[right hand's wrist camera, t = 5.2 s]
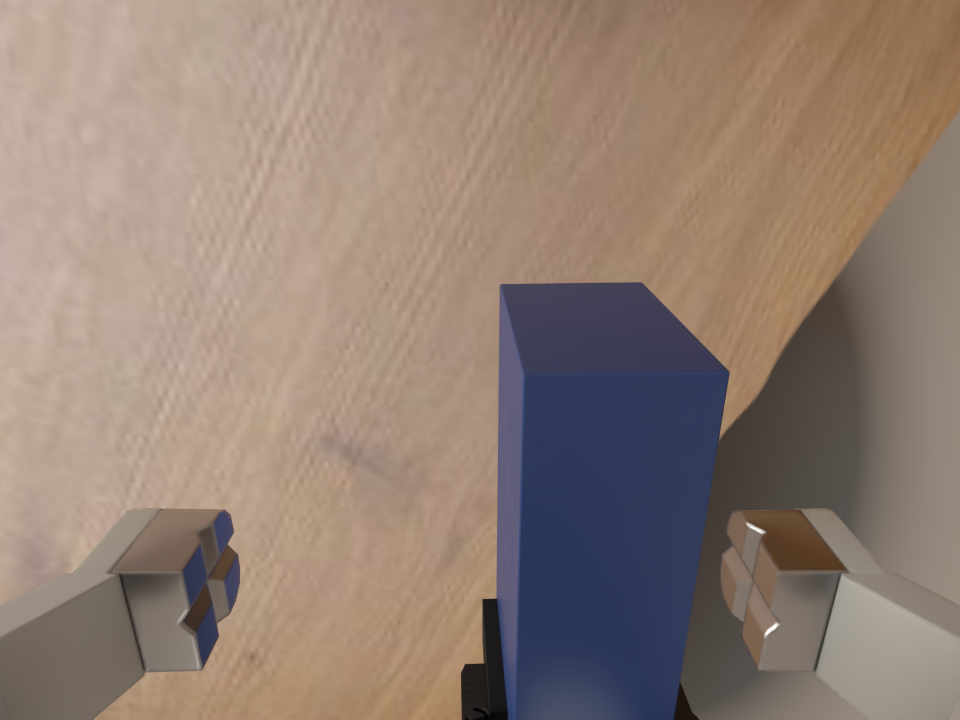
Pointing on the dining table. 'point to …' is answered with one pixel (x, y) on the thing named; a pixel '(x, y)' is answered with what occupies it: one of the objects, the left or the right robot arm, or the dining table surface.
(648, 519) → the box
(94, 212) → the dining table surface
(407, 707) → the dining table surface
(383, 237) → the dining table surface
